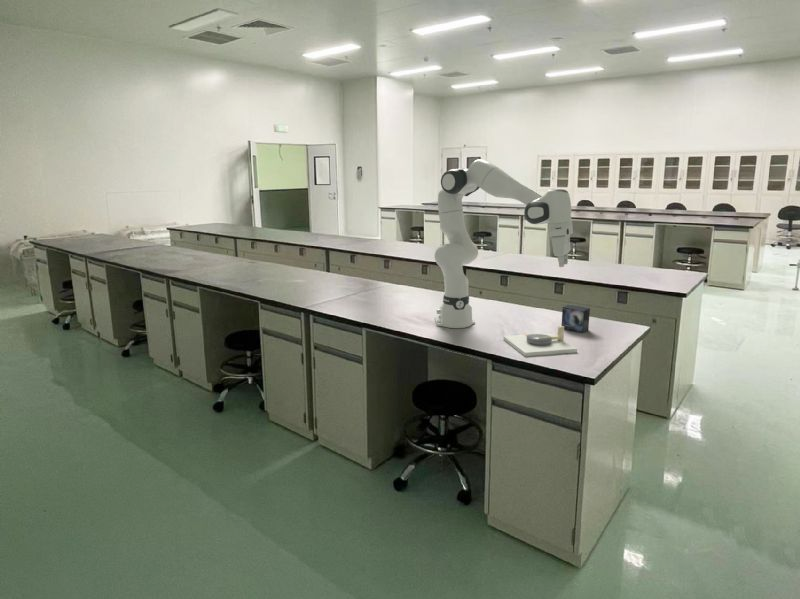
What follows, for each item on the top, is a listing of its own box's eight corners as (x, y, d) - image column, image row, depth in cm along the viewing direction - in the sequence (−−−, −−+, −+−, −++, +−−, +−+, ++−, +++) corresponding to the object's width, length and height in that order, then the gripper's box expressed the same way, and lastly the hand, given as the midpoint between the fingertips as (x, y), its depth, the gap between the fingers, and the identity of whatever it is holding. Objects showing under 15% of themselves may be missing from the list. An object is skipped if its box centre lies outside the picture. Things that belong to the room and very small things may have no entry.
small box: (560, 328, 237) (561, 306, 235) (567, 325, 242) (568, 304, 239) (582, 333, 230) (583, 310, 228) (589, 330, 234) (590, 307, 232)
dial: (532, 345, 208) (533, 332, 207) (522, 338, 217) (523, 325, 216) (569, 343, 211) (569, 329, 209) (557, 336, 220) (558, 323, 219)
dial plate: (503, 339, 223) (503, 336, 222) (551, 336, 227) (551, 332, 226) (524, 356, 202) (525, 352, 201) (577, 352, 205) (577, 348, 205)
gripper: (556, 229, 214) (559, 263, 216) (548, 232, 196) (551, 269, 198) (572, 228, 211) (575, 261, 213) (565, 231, 193) (568, 267, 195)
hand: (563, 265), depth 205 cm, fingers open, 8 cm apart
